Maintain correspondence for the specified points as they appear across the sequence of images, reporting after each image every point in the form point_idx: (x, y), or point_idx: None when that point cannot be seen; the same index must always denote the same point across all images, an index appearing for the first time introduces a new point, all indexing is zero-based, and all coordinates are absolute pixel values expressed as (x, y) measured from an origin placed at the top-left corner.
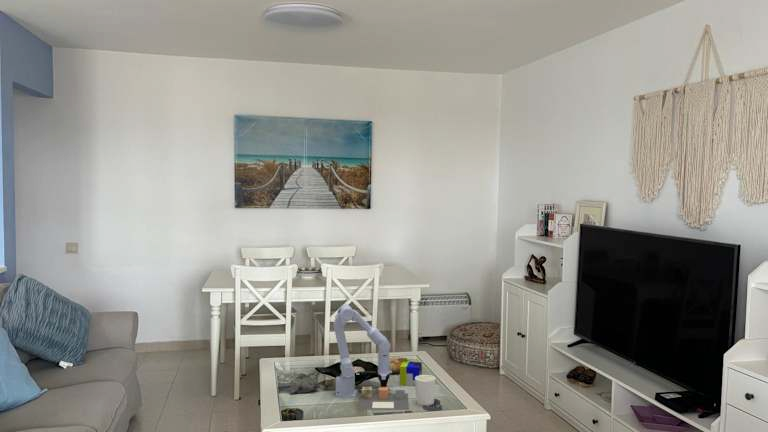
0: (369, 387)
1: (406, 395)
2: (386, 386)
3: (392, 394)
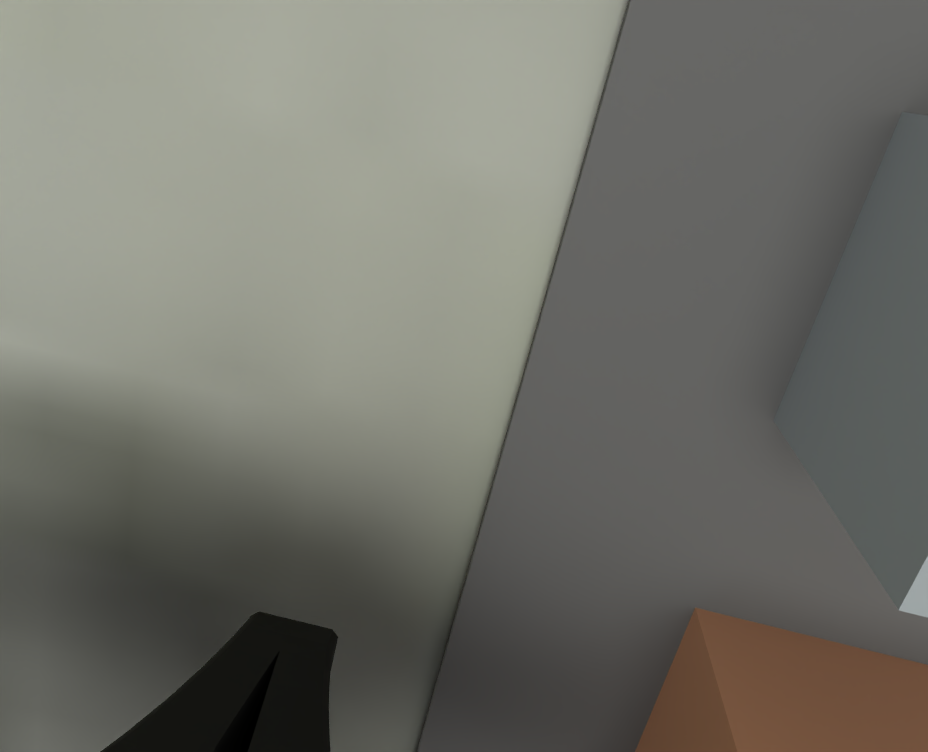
0: None
1: (870, 13)
2: (328, 702)
3: (608, 467)
